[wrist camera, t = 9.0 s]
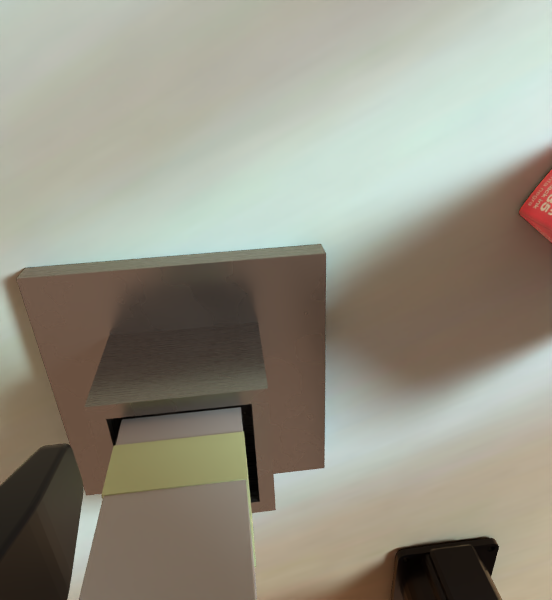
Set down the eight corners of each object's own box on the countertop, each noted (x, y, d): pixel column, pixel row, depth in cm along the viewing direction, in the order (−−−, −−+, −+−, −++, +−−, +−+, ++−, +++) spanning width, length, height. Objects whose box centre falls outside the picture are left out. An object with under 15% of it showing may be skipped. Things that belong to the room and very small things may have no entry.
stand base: (320, 453, 27) (347, 559, 21) (90, 479, 26) (58, 597, 20) (321, 244, 21) (358, 317, 15) (25, 267, 20) (-45, 354, 15)
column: (250, 489, 20) (272, 778, 12) (140, 501, 20) (93, 807, 12) (241, 405, 18) (262, 690, 10) (120, 418, 18) (46, 722, 10)
